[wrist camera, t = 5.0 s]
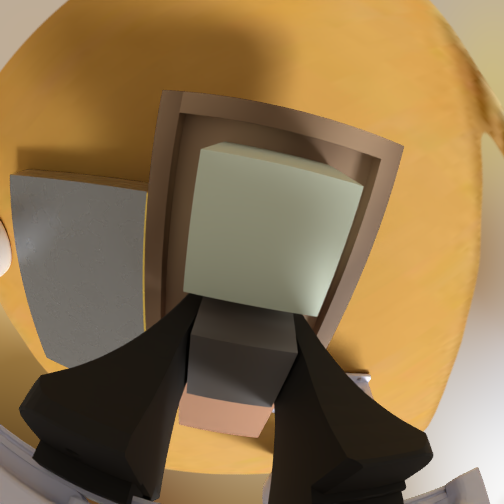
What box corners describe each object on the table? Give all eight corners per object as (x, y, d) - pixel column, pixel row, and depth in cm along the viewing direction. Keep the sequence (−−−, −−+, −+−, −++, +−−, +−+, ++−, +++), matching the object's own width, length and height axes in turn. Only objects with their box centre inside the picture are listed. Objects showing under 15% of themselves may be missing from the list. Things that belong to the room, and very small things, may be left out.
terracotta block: (276, 334, 13) (278, 398, 10) (259, 380, 15) (257, 437, 12) (197, 319, 13) (179, 381, 10) (193, 368, 15) (179, 424, 11)
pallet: (376, 141, 11) (475, 164, 5) (290, 375, 18) (295, 465, 11) (184, 97, 11) (99, 72, 4) (162, 351, 17) (130, 437, 11)
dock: (179, 187, 19) (166, 195, 16) (168, 385, 28) (162, 402, 25) (27, 169, 18) (8, 175, 15) (55, 345, 27) (45, 358, 24)
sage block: (328, 164, 10) (363, 186, 6) (302, 257, 12) (316, 316, 8) (224, 141, 10) (200, 149, 6) (208, 238, 11) (183, 291, 8)
